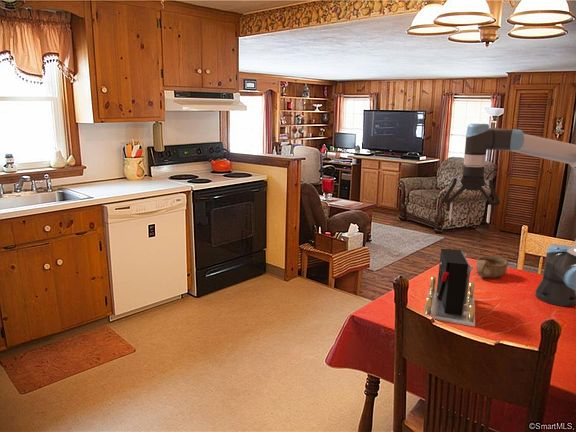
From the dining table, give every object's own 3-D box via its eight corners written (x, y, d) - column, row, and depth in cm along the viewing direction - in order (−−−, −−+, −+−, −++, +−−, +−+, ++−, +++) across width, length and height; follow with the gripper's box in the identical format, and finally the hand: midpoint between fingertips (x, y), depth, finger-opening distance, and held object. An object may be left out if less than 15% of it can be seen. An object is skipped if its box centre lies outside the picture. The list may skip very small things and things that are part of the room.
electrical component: (467, 315, 167) (474, 264, 163) (439, 312, 169) (444, 262, 165) (460, 296, 184) (466, 250, 179) (434, 294, 186) (439, 248, 181)
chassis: (473, 299, 186) (475, 282, 184) (474, 326, 162) (477, 307, 160) (428, 292, 192) (430, 275, 190) (422, 317, 168) (424, 298, 167)
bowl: (503, 283, 200) (499, 261, 200) (471, 283, 209) (467, 263, 209) (513, 272, 214) (509, 251, 213) (482, 273, 223) (478, 253, 222)
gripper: (509, 166, 167) (503, 221, 172) (439, 163, 176) (435, 216, 181) (512, 168, 161) (505, 225, 166) (438, 165, 169) (434, 220, 174)
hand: (468, 220), depth 173 cm, fingers open, 13 cm apart
